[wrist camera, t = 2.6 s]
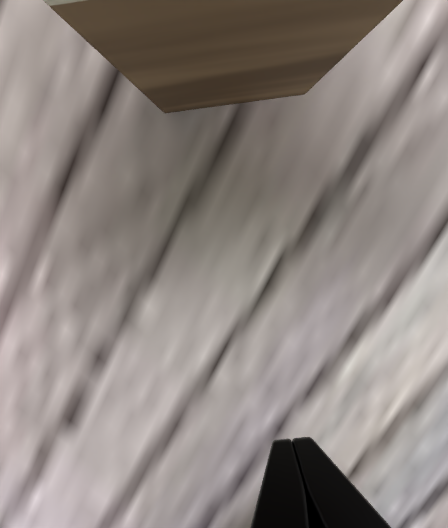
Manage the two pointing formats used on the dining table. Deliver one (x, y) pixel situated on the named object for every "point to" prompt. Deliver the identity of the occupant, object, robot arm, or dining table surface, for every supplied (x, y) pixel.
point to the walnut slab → (222, 44)
